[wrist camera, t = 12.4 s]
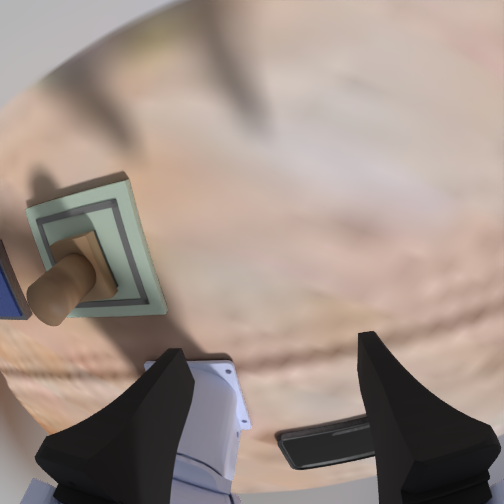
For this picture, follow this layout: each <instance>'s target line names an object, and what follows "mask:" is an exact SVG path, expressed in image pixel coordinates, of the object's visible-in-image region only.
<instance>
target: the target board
mask: <svg viewBox="0 0 504 504" xmlns="http://www.w3.org/2000/svg"><path fill="white" fill-rule="evenodd" d="M25 212H26V215H27V218H28V221H29V224H30V227H31V230H32V233H33V236H34V239H35V242H36V245H37V248H38V250H39V253H40V256H41V258H42V261H43V264H44V266H45V269H46V271H48V270H49V269H51V268H52V267H53V266H54V265H55V264H56V262H55V260H54V257H53V255H52V253H51V250H50V248H49V246H50V245H52V244H53V243H55V242H56V241H59V240H62V239H65V238H68V237H72V236H75V235H78V234H82V233H85V232H89V231H92V230H93V231H94V230H96V232H97V235H98V238H99V240H100V243H101V245H102V248H103V250H104V253H105V255H106V258H107V260H108V263H109V265H110V267H111V270H112V272H113V274H114V277H115V279H116V281H117V284H118V287H117V290H118V292H117V293H116V294H115V295H114V297H113V298H110V299H103V300H96V301H89V302H81V303H78V304H77V306H76V307H75V308H74V309H73V310H72V311H71V312H70V313H69V314H68V316H67V318H74V317H116V316H141V315H162V314H166V313H167V311H168V308H167V305H166V302H165V299H164V296H163V293H162V290H161V287H160V284H159V281H158V278H157V275H156V272H155V269H154V266H153V263H152V259H151V256H150V253H149V249H148V246H147V243H146V239H145V236H144V232H143V229H142V225H141V222H140V218H139V215H138V211H137V207H136V203H135V200H134V196H133V192H132V188H131V184H130V180H129V179H127V180H123V181H119V182H115V183H111V184H107V185H103V186H99V187H96V188H92V189H88V190H85V191H81V192H78V193H74V194H71V195H67V196H64V197H60V198H57V199H54V200H51V201H47V202H44V203H41V204H38V205H35V206H32V207H29V208H27V209H25Z"/></svg>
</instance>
